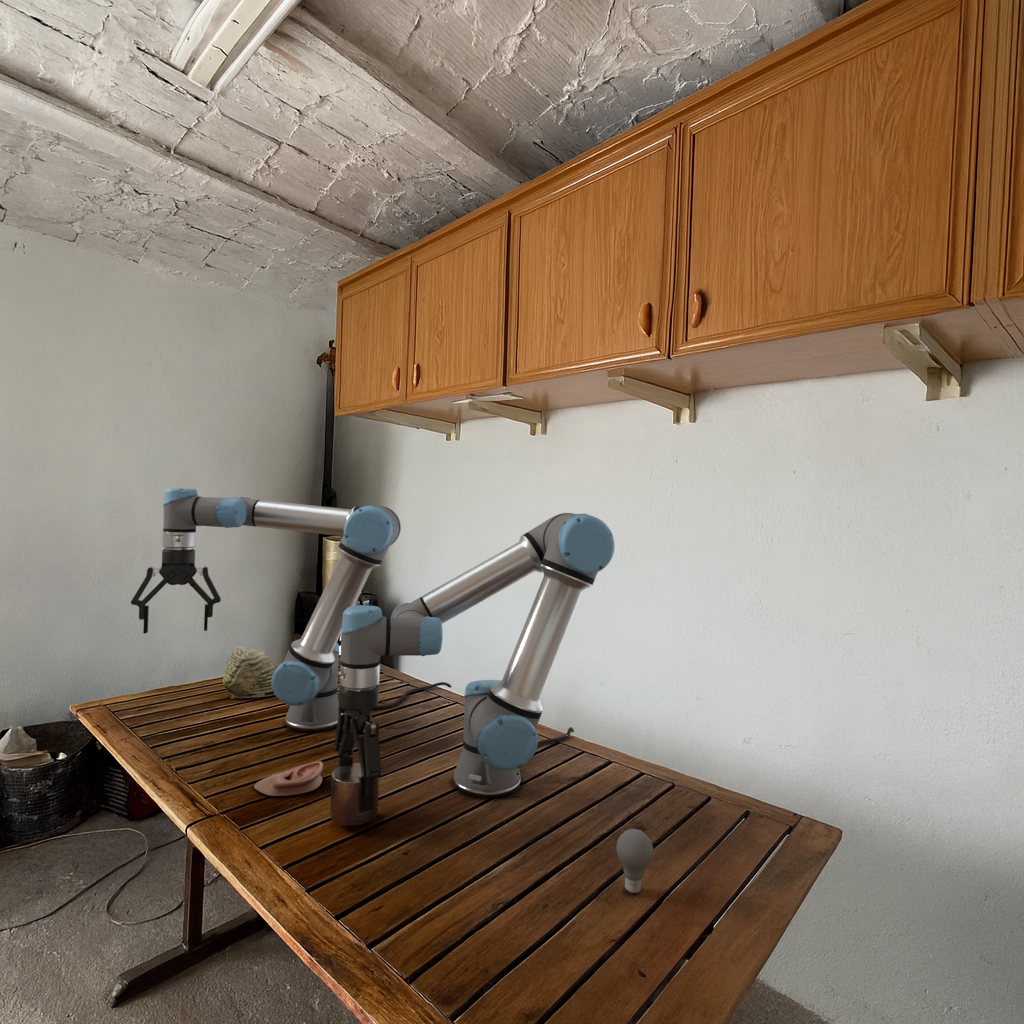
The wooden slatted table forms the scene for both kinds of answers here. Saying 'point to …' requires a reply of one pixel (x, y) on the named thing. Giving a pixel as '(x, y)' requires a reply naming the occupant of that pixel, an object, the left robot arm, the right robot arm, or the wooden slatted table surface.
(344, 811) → the tin
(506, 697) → the right robot arm
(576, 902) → the wooden slatted table surface
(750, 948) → the wooden slatted table surface
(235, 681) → the fossil
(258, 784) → the anatomical model
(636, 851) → the light bulb
